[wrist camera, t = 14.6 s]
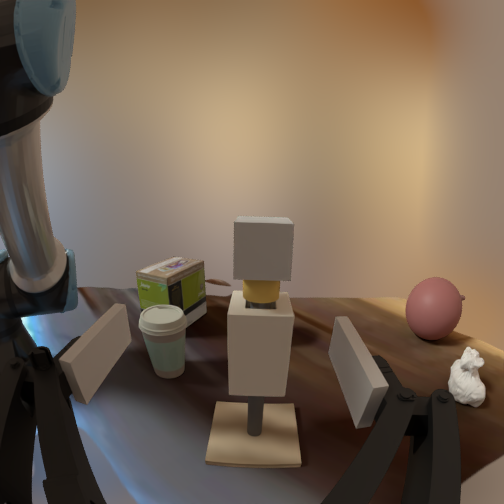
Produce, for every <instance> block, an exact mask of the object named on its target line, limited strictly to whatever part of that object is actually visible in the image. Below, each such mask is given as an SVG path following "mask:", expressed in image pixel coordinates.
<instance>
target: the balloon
mask: <svg viewBox="0 0 504 504" xmlns="http://www.w3.org/2000/svg"><path fill="white" fill-rule="evenodd" d="M462 300H465V296H463V295H460V294H459V291H458V290H457V288H456V287H455V286H454V285H453V284H452V283H451V282H450V281H448V280H446V279H443V278H438V277H433V278H428V279H425V280H424V281H422V282H420V283H419V284H418V285H416V286H415V288H414V289H413V290H412V292H411V293H410V295H409V297H408V300H407V303H406V318H407V322H408V324H409V326H410V328H411V330H412V331H413V332H414V333H415V334H416V335H418V336H419V337H421V338H423V339H427V340H437V339H441V338H443V337H445V336H447V335H448V334H449V333H451V332H452V331H453V329H454V328H455V327H456V325H457V324H458V322H459V319H460V317H461V312H462Z"/></svg>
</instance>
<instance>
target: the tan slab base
mask: <svg viewBox="0 0 504 504" xmlns="http://www.w3.org/2000/svg"><path fill="white" fill-rule="evenodd" d="M247 418H248V403H233V402H219V401H217V402H216V407H215V412H214V417H213V422H212V427H211V433H210V438H209V443H208V448H207V454H206V459H205V462H206V464H208V465H218V466H229V467H247V468H289V467H300V466H301V455H300V447H299V439H298V432H297V424H296V417H295V410H294V404H264V409H263V421H262V432H261V434H260V435H259V436H250V435H249V434H248V433H247Z"/></svg>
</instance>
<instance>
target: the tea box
mask: <svg viewBox="0 0 504 504" xmlns="http://www.w3.org/2000/svg"><path fill="white" fill-rule="evenodd" d="M136 276H137V285H138V293H139V299H140V307H141V313H142V311H143V310H145V309H146V308H149V307H151V306H156V305H173V306H177V307H179V308H180V309H182V310H183V313H184V315H185V316H186V319H187V326H186V327H188V326H189V325H190V324H192V323H193V322H195V321H196V320H197V319H199V318H200V317H201V316H203V315H204V314H205V313H207V308H206V292H205V275H204V261H201V260H194V259H186V258H179V257H172V258H169V259H167V260H164V261H161V262H159V263H156V264H153V265H151V266H148V267H146V268H143V269H141V270H138V271H136Z"/></svg>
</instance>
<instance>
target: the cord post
mask: <svg viewBox="0 0 504 504" xmlns="http://www.w3.org/2000/svg"><path fill="white" fill-rule="evenodd" d="M293 235H294V223H293V222H292V221H291V220H290V219H289V218H280V217H252V216H251V217H249V216H238V218H237V219H236V220H235V222H234V272H233V276H234V277H233V278H234V279H238V280H243V298H244V299H246V300H247V301H250V302H251V306H250V309H270V306H271V302H274V301H276V300H278V299H279V291H280V281H291V269H292V253H293V252H292V251H293ZM263 409H264V396H248V418H247V433H248V434H249V435H250V436H259V435H260V434H261V432H262V421H263Z"/></svg>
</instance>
